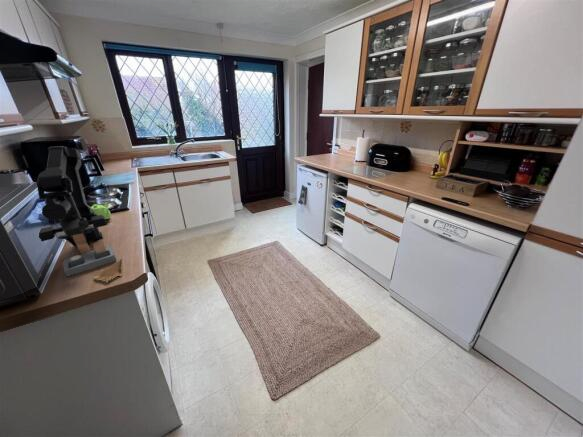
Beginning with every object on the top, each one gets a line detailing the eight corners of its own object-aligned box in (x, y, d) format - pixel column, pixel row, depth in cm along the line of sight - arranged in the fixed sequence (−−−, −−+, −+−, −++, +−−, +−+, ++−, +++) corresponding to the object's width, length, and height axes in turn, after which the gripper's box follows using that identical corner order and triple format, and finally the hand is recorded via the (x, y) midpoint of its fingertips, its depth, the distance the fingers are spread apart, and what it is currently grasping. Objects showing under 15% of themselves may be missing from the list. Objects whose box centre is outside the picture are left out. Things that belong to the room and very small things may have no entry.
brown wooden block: (80, 251, 92) (72, 233, 89) (90, 248, 94) (82, 230, 90) (80, 254, 90) (72, 236, 86) (90, 251, 92) (82, 233, 88)
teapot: (116, 220, 120) (110, 204, 117) (87, 227, 113) (80, 211, 110) (112, 213, 128) (106, 199, 124) (85, 220, 121) (78, 205, 117)
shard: (122, 262, 89) (121, 258, 88) (139, 265, 87) (137, 261, 86) (93, 280, 79) (91, 276, 78) (111, 284, 77) (109, 280, 76)
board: (67, 265, 86) (60, 252, 84) (113, 250, 95) (108, 238, 92) (67, 277, 80) (60, 263, 78) (116, 260, 88) (111, 248, 86)
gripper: (27, 225, 73) (49, 266, 80) (101, 209, 84) (115, 246, 91) (30, 214, 81) (50, 252, 88) (98, 200, 92) (111, 235, 99)
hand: (83, 246), depth 91 cm, fingers closed on brown wooden block, 3 cm apart
